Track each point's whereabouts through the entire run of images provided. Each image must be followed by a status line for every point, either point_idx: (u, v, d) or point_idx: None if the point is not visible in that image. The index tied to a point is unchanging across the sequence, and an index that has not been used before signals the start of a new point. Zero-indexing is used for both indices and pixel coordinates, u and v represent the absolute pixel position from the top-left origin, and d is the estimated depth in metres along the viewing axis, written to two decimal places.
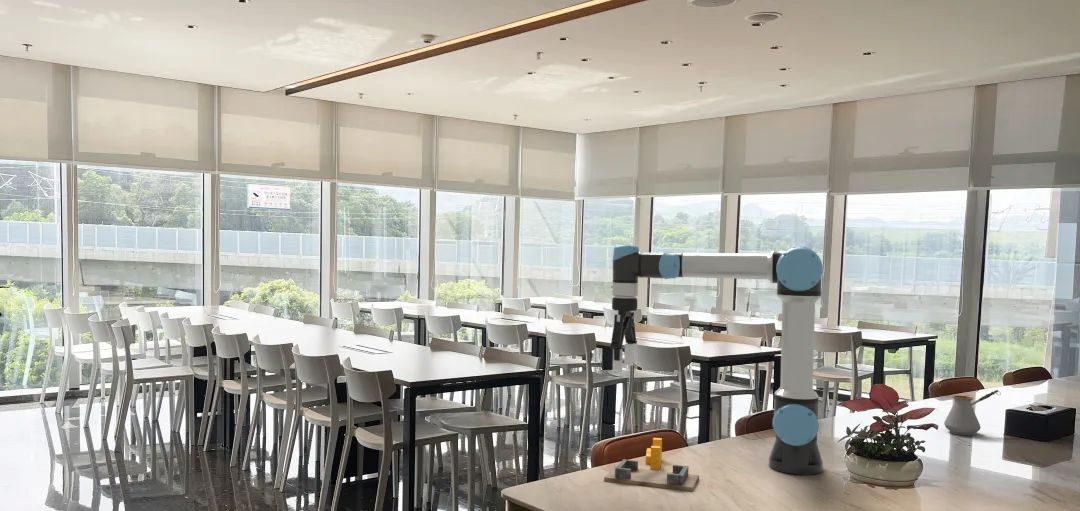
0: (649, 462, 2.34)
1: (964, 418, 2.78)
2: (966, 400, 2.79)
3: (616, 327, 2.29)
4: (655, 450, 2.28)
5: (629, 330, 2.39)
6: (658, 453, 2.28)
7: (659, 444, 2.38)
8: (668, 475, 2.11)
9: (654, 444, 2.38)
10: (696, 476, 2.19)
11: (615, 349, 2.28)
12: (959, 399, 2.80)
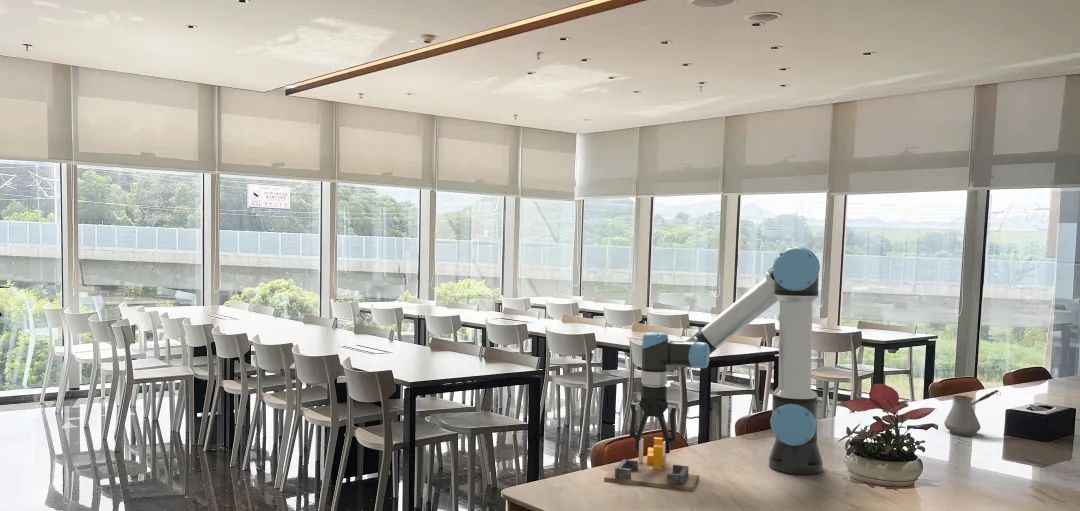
0: (651, 461, 2.34)
1: (964, 418, 2.78)
2: (966, 400, 2.79)
3: None
4: (658, 450, 2.28)
5: None
6: (660, 453, 2.28)
7: (660, 443, 2.38)
8: (668, 475, 2.11)
9: (655, 443, 2.38)
10: (696, 476, 2.19)
11: None
12: (959, 399, 2.80)
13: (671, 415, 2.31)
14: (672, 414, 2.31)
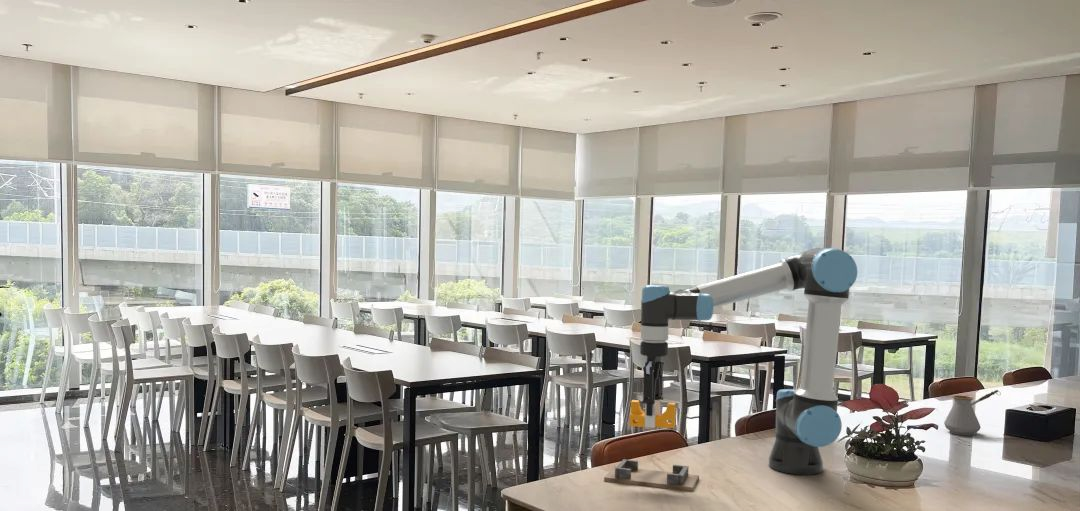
0: None
1: (964, 418, 2.78)
2: (966, 400, 2.79)
3: (646, 380, 2.14)
4: None
5: (657, 379, 2.20)
6: None
7: (639, 405, 2.22)
8: (668, 475, 2.11)
9: (639, 407, 2.20)
10: (696, 476, 2.19)
11: (648, 404, 2.15)
12: (959, 399, 2.80)
13: (662, 369, 2.23)
14: (662, 368, 2.24)
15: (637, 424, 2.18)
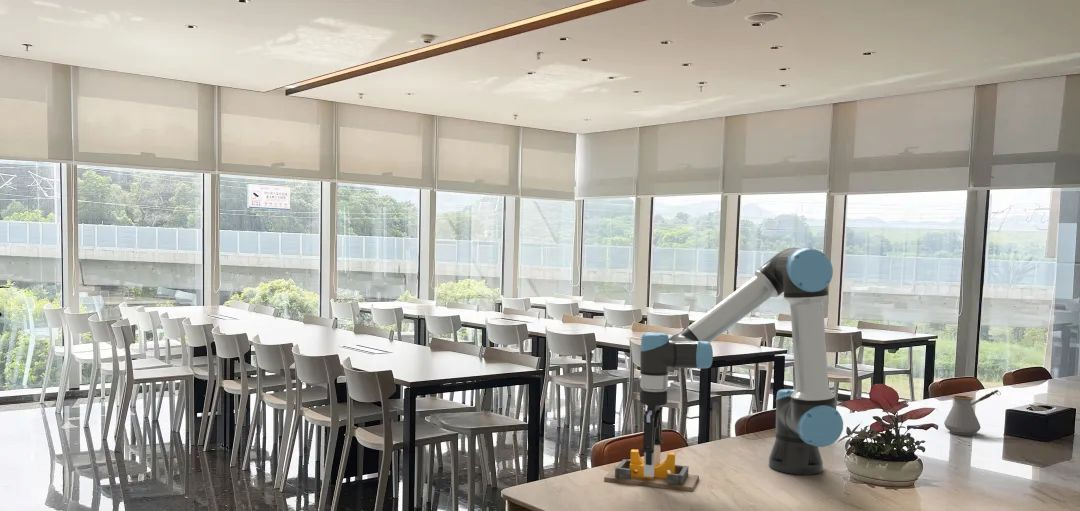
0: None
1: (964, 418, 2.78)
2: (966, 400, 2.79)
3: (646, 429, 2.12)
4: None
5: (657, 426, 2.20)
6: None
7: (639, 455, 2.20)
8: (668, 475, 2.11)
9: (638, 456, 2.19)
10: (696, 476, 2.19)
11: (647, 453, 2.12)
12: (959, 399, 2.80)
13: (661, 415, 2.23)
14: (661, 413, 2.23)
15: (637, 475, 2.17)
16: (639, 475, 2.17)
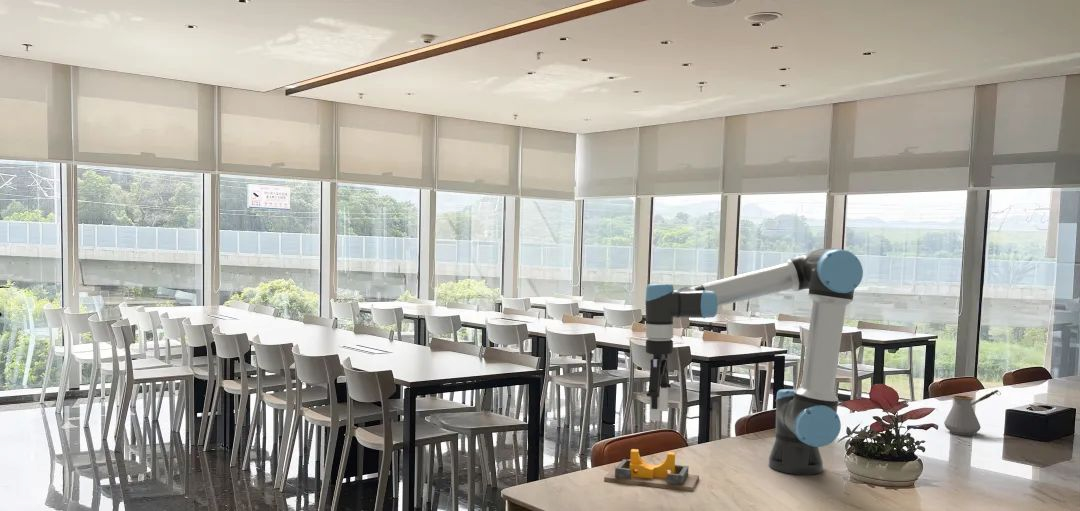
0: (653, 475, 2.17)
1: (964, 418, 2.78)
2: (966, 400, 2.79)
3: (652, 373, 2.12)
4: None
5: (663, 374, 2.23)
6: None
7: (639, 455, 2.21)
8: (668, 475, 2.11)
9: (638, 456, 2.19)
10: (696, 476, 2.19)
11: (652, 397, 2.12)
12: (959, 399, 2.80)
13: (667, 362, 2.25)
14: None
15: (637, 474, 2.17)
16: (639, 475, 2.17)
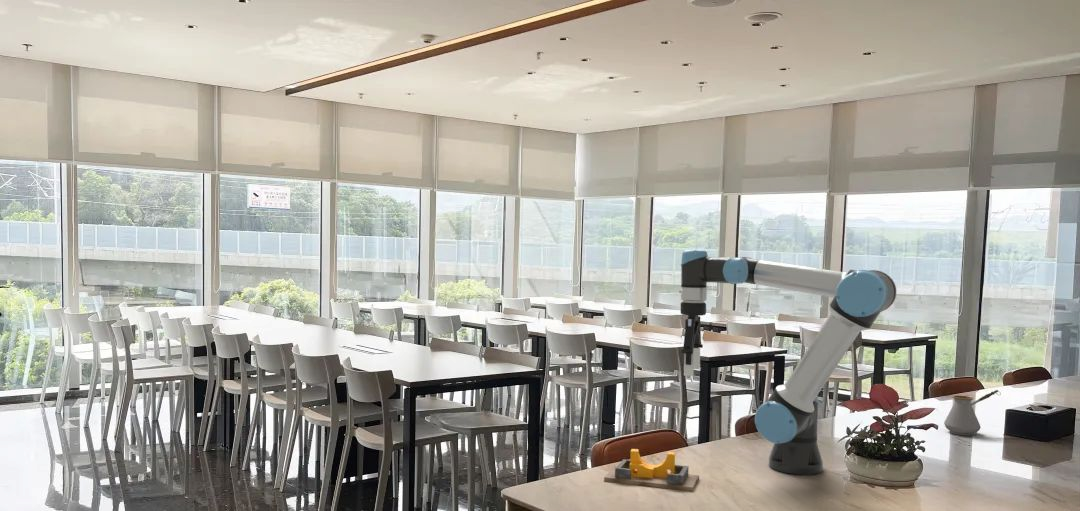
0: (653, 474, 2.17)
1: (964, 418, 2.78)
2: (966, 400, 2.79)
3: (687, 331, 2.30)
4: (674, 456, 2.18)
5: (696, 334, 2.41)
6: None
7: (639, 454, 2.21)
8: (668, 475, 2.11)
9: (638, 456, 2.19)
10: (696, 476, 2.19)
11: (687, 353, 2.30)
12: (959, 399, 2.80)
13: None
14: None
15: (637, 474, 2.17)
16: (639, 475, 2.17)
